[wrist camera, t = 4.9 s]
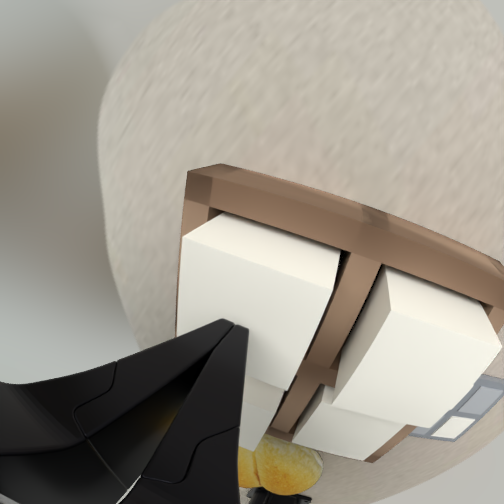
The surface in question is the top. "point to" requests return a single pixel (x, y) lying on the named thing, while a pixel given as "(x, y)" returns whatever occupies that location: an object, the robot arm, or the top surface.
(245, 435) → the button
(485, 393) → the pattern card
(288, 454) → the bread roll
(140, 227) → the top surface
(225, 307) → the button
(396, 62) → the top surface
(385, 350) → the button
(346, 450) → the button
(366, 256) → the brown flat square grid
